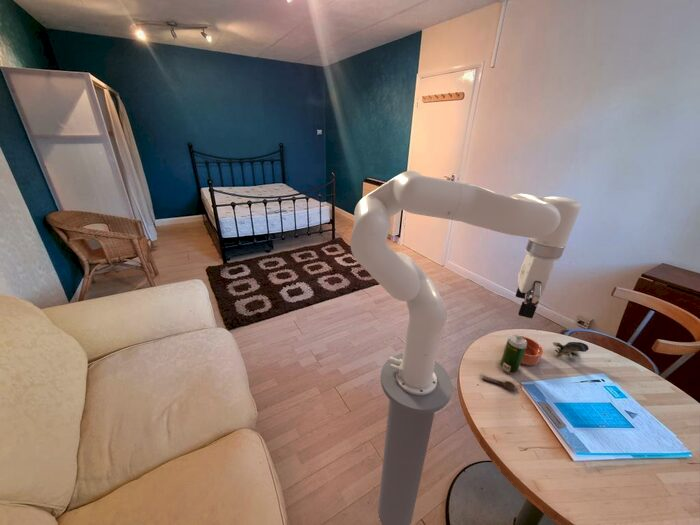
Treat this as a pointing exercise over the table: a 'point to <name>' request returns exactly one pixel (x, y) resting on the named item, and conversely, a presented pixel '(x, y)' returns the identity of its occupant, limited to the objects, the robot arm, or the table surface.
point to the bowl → (532, 352)
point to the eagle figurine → (570, 348)
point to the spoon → (501, 383)
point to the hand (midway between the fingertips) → (523, 306)
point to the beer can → (513, 354)
